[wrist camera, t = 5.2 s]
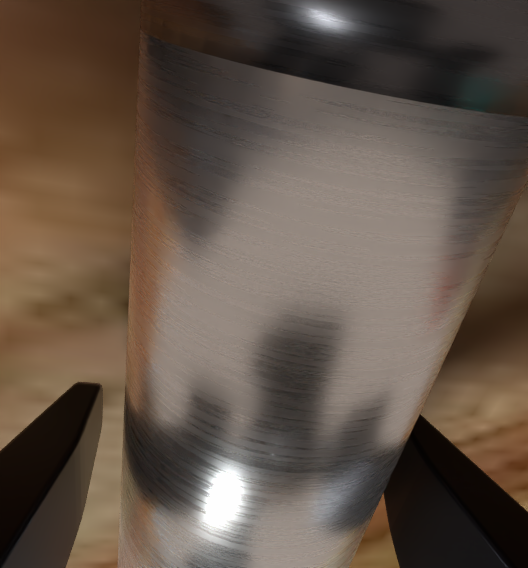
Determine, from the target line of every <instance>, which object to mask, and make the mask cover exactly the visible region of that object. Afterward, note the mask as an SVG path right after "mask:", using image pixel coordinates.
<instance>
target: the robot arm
mask: <svg viewBox="0 0 528 568" xmlns="http://www.w3.org/2000/svg"><path fill="white" fill-rule="evenodd" d="M102 411H103V388H102V386H101V385H100V384H99V383H88V382H77V383H75V384H74V385H73V386H72V387H71V388H69V389H68V390H67V391H66V392H65V393H64V394H63V395H62V396H61V397H59V398H58V399H57V400H56V401H55V402H54V403H53V404H52V405H51V406H49V407H48V408H47V409H46V410H45V411H44V412H43V413H42V414H41V415H40V416H38V417H37V418H36V419H35V420H34V421H33V422H32V423H31V424H30V425H28V426H27V427H26V428H25V429H24V430H23V431H22V432H21V433H20V434H19V435H17V436H16V437H15V438H14V439H13V440H12V441H11V442H10V443H9V444H7V445H6V446H5V447H4V448H3V449H2V450H1V451H0V568H65V567H66V564H67V562H68V559H69V556H70V553H71V550H72V547H73V544H74V541H75V538H76V535H77V532H78V529H79V525H80V522H81V519H82V515H83V511H84V507H85V503H86V498H87V493H88V489H89V484H90V480H91V475H92V470H93V466H94V461H95V456H96V452H97V447H98V442H99V438H100V433H101V427H102ZM384 498H385V504H386V511H387V517H388V522H389V527H390V532H391V536H392V540H393V544H394V548H395V551H396V555H397V559H398V562H399V566H400V568H528V512H527V511H526V510H525V509H524V508H523V507H522V506H521V505H520V504H519V503H517V502H516V501H515V500H514V499H513V498H512V497H511V496H510V495H509V494H508V493H506V492H505V491H504V490H503V489H502V488H501V487H500V486H499V485H498V484H497V483H495V482H494V481H493V480H492V479H491V478H490V477H489V476H488V475H487V474H485V473H484V472H483V471H482V470H481V469H480V468H479V467H478V466H477V465H476V464H474V463H473V462H472V461H471V460H470V459H469V458H468V457H467V456H466V455H465V454H463V453H462V452H461V451H460V450H459V449H458V448H457V447H456V446H455V445H453V444H452V443H451V442H450V441H449V440H448V439H447V438H446V437H445V436H444V435H442V434H441V433H440V432H439V431H438V430H437V429H436V428H435V427H434V426H433V425H431V424H430V423H429V422H428V421H427V420H426V419H425V418H424V417H423V416H421V415H420V414H419V417H418V419H417V421H416V423H415V425H414V427H413V430H412V432H411V434H410V436H409V438H408V440H407V442H406V445H405V447H404V449H403V451H402V453H401V455H400V458H399V460H398V462H397V464H396V466H395V468H394V471H393V473H392V475H391V477H390V479H389V481H388V484H387V486H386V488H385V490H384Z"/></svg>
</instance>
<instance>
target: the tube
mask: <svg viewBox="0 0 528 568" xmlns="http://www.w3.org/2000/svg"><path fill="white" fill-rule="evenodd" d="M527 180H528V0H141V24H140V48H139V72H138V96H137V119H136V143H135V167H134V191H133V215H132V239H131V262H130V286H129V310H128V334H127V358H126V381H125V405H124V429H123V453H122V477H121V500H120V524H119V548H118V568H349V566H350V564H351V562H352V559H353V557H354V555H355V553H356V551H357V549H358V546H359V544H360V542H361V540H362V538H363V536H364V533H365V531H366V529H367V527H368V525H369V523H370V520H371V518H372V516H373V514H374V512H375V510H376V507H377V505H378V503H379V501H380V499H381V497H382V494H383V492H384V490H385V488H386V486H387V484H388V481H389V479H390V477H391V475H392V473H393V471H394V468H395V466H396V464H397V462H398V460H399V458H400V455H401V453H402V451H403V449H404V447H405V445H406V442H407V440H408V438H409V436H410V434H411V432H412V430H413V427H414V425H415V423H416V421H417V419H418V417H419V414H420V412H421V410H422V408H423V406H424V404H425V401H426V399H427V397H428V395H429V393H430V391H431V388H432V386H433V384H434V382H435V380H436V378H437V375H438V373H439V371H440V369H441V367H442V365H443V362H444V360H445V358H446V356H447V354H448V352H449V349H450V347H451V345H452V343H453V341H454V339H455V336H456V334H457V332H458V330H459V328H460V326H461V323H462V321H463V319H464V317H465V315H466V313H467V310H468V308H469V306H470V304H471V302H472V300H473V297H474V295H475V293H476V291H477V289H478V287H479V284H480V282H481V280H482V278H483V276H484V274H485V271H486V269H487V267H488V265H489V263H490V261H491V258H492V256H493V254H494V252H495V250H496V248H497V245H498V243H499V241H500V239H501V237H502V235H503V232H504V230H505V228H506V226H507V224H508V222H509V219H510V217H511V215H512V213H513V211H514V209H515V206H516V204H517V202H518V200H519V198H520V196H521V193H522V191H523V189H524V187H525V185H526V183H527Z"/></svg>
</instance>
